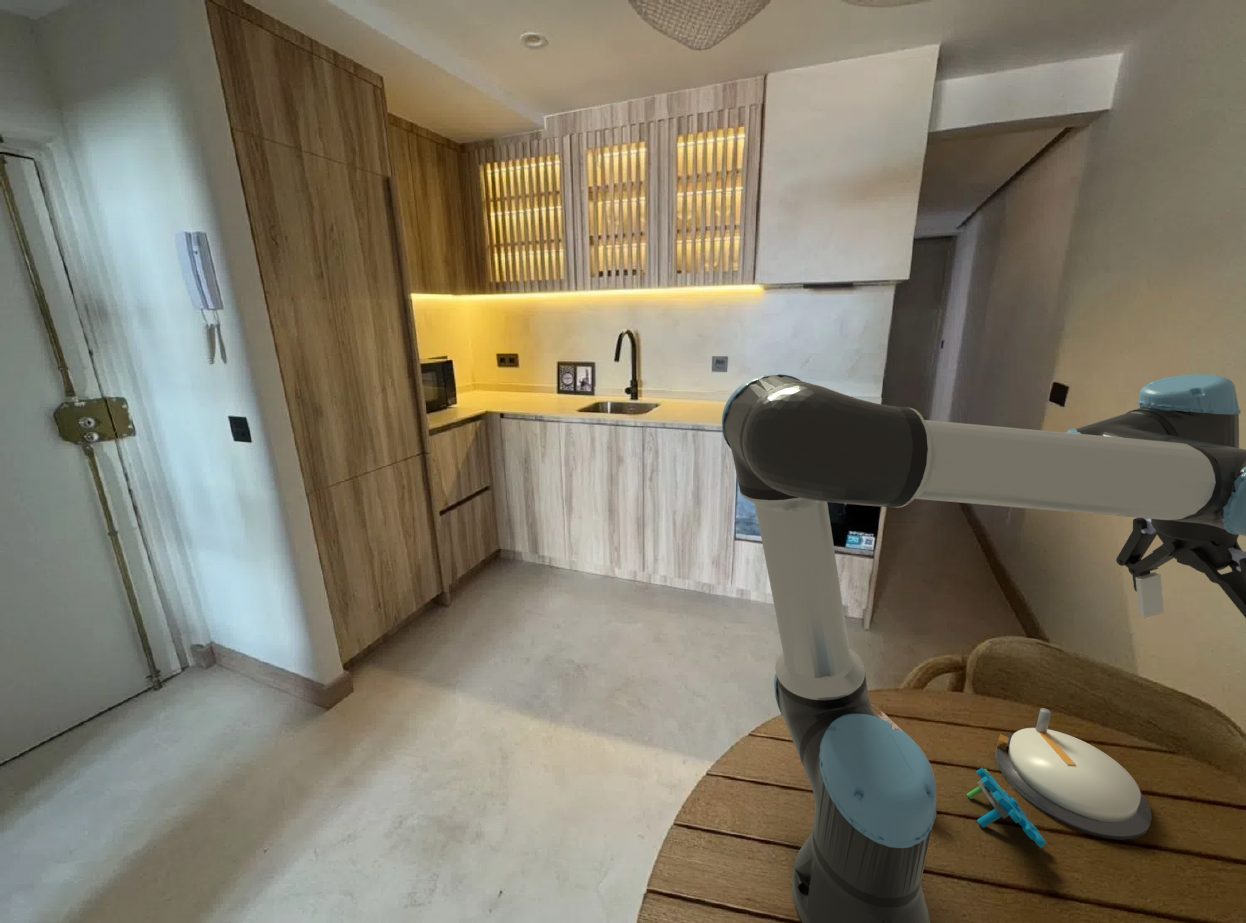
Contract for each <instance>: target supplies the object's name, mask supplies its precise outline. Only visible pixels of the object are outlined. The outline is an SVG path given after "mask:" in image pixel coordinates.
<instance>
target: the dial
mask: <svg viewBox="0 0 1246 923" xmlns="http://www.w3.org/2000/svg"><path fill="white" fill-rule="evenodd" d="M1051 716H1052V712H1051V711H1050V710H1049V709H1047V708H1043V707H1040V709H1039V714H1038V717H1037V718H1038V719H1037V722H1036V726H1035V727H1027V728H1021V729H1019V730H1017V731H1015V732H1014V734H1013V736H1012V738H1011V741H1010V745H1009V751H1008V755H1009V759H1010V762H1011V764H1012V766H1013V767H1014V769H1015V770H1016V772H1017V773H1018V774H1019V775H1020V777H1021V778H1022V779H1023V780H1024V781H1025V782H1026V783H1027V784H1029V785H1030V786H1031V787H1032V788H1033V789H1034V790H1036V791H1037V792H1038V793H1040V794H1041V795H1043V796H1044V797H1045V798H1047V799H1049V800H1050V801H1052V802H1054V803H1055V804H1057V805H1059V806H1061V807H1063V808H1065V809H1067V810H1069V811H1071V812H1073V813H1076V814H1079V815H1081V816H1084V817H1087V818H1091V819H1094V820H1099V821H1105V822H1123V821H1127V820H1129V819H1131V818H1133V816H1134V815H1135V814H1136V812H1137V809H1138V806H1139V803H1140V799H1141V794H1140V792H1141V790H1140V788H1139V785H1138V783H1137V781H1136V780H1135V779H1134V777H1132V775H1131V774H1130V773H1129V771H1127V770H1126V769H1125V768H1124V767H1123V766H1122V765H1121V764H1120V763H1119V762H1118V761H1116V760H1115V759H1114V758H1112V757H1111V756H1109V755H1108V754H1106V753H1105V752H1103V751H1102V750H1100V749H1099V748H1097V747H1095V746H1094V745H1091V744H1089V743H1088V742H1086V741H1084V740H1081V739H1079V738H1076V737H1074V736H1072V735H1069V734H1067V733H1063V732H1060V731H1057V730H1053V729H1049V724H1050V721H1051Z"/></svg>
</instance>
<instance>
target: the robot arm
mask: <svg viewBox="0 0 1246 923" xmlns="http://www.w3.org/2000/svg"><path fill="white" fill-rule="evenodd" d="M1236 391H1237V390H1236V386H1235V383H1234V382H1233V381H1232V380H1231V379H1229V378H1227V377H1225V376H1221V375H1217V374H1216V375H1215V374H1207V373H1206V374H1204V373H1203V374H1198V373H1197V374H1184V375H1177V376H1169V377H1165V378H1161V379H1157V380H1154V381H1151V382H1149V383H1148V384H1146V385H1145V386H1143V387H1142V388H1141V389H1140V391H1139V400H1138V401H1137V403H1138V405H1139V408H1136V409H1132V410H1129V411H1127V412H1125V413H1124V414H1120V415H1117V416H1113V417H1110V418H1107V419H1104V420H1100V421H1097V422H1092V423H1090V424H1086V425H1083V426H1080V427H1077V428H1072V429H1068V430H1067V431H1066V432H1062V431H1050V430H1039V429H1030V428H1029V429H1028V428H1018V427H1009V426H1008V427H1007V426H998V425H997V426H996V425H984V424H974V423H963V422H951V421H941V420H930V419H929V420H928V419H925V418H924V417H923V415H922V414H921V413H920V412H919V411H918V410H916V409H915V408H912V407H907V406H898V405H897V406H896V405H888V404H881V403H877V402H872V401H868V400H864V399H860V398H856V397H853V396H850V395H847V394H844V393H842V392H838V391H835V390H834V389H830V388H827V387H825V386H821V385H818V384H813V383H811V382H806V381H802V380H801V379H799V378H797V377H795V376H793V375H788V374H780V373H777V374H764V375H760V376H756V377H754V378H751V379H749V380H746V381H745V382H743V383H742V384H741V385H740V386H738V387H737V389H735V390H734V391H733V393H731V395H730V396H729V398H728V399H727V401H726V403H725V405H724V408H723V411H722V417H721V428H722V435H723V439H724V440H725V442H726V445H727V446H728V447H729V448H730V450H731V452H732V457H733V458H732V460H733V462H734V463H733V464H734V467H735V468H734V469H735V473H736V478H737V482H738V487H739V492H740V495H741V496H742V497H743V498H744V499H746V500H748V501H750V502H751V503H753V504H754V507H755V511H756V516H757V522H758V527H759V532H760V537H761V544H762V548H763V554H764V560H765V564H766V569H767V570H766V571H767V574H768V575H767V576H768V579H769V585H770V591H771V595H772V596H771V597H772V600H773V605H774V606H773V608H774V611H775V616H776V621H777V627H778V628H777V629H778V632H779V638H780V643H781V650H782V651H781V652H780V654H779V655H778V657H777V659H776V662H775V665H774V667H775V668H774V669H775V670H774V671H775V674H774V678H773V679H774V680H773V681H774V682H773V683H774V684H773V687H774V694H775V695H774V697H775V701H776V704H777V707H778V710H779V712H780V714H781V716H782V717H783V719H784V722H785V725H786V727H787V730H788V732H789V734H790V736H791V740H792V742H793V743H794V747H795V750H796V752H797V754H798V756H799V759H800V762H801V764H802V766H803V769H804V772H805V774H806V777H807V779H808V782H809V784H810V786H811V790H812V792H813V796H814V803H815V807H814V816H813V817H814V818H813V825H812V826H813V827H812V832H811V833H810V834H809V835H808V838H807V839H806V840H805V841H804V843H803V844H802V846H801V848H800V849H799V850H798V853H797V855H796V858H795V860H794V866H793V871H792V881H791V882H792V883H791V884H792V887H791V890H792V897H793V902H794V906H795V909H796V912H797V915H798V917H799V919H800V921H801V923H931V921H930V915H929V910H928V907H927V903H926V899H925V895H924V892H923V887H922V879H923V872H924V869H925V864H926V860H927V859H926V858H927V856H928V855H927V854H928V850H929V844H930V840H931V835H932V831H933V830H932V829H933V825H934V823H935V821H936V817H937V816H936V815H937V782H936V777H935V773H934V769H933V768H932V765H931V763H930V761H929V758H928V757H927V756H926V754H925V753H924V751H923V749H922V748H921V747H920V746H919V745H918V743H916V742H914V741H915V740H914V739H913V738H912V737H911V736H910V735H909V734H908V733H907V732H906V731H905V732H906V733H907V734H908V735H909V736H910V737H911V738H910V737H909V736H908V735H907V734H906V733H905V732H903V731H902V730H903V729H902V730H897V731H896V730H894V729H893V728H892V724H891V723H889V722H887V721H885V720H883V719H881V718H879V717H878V716H877V714H876V713H875V711H874V709H873V707H872V705H871V703H870V702H871V700H870V696H869V690H868V689H869V688H868V682H867V677H866V670H865V666H864V662H863V660H862V659H861V657H860V656H859V655H858V654H857V653H856V652H855V651H853V650H852V649H850V644H849V639H848V638H849V637H848V631H847V625H846V619H845V612H844V605H843V599H842V598H843V597H842V590H841V586H840V580H839V579H840V578H839V572H838V571H839V570H838V566H837V559H836V552H835V546H834V545H835V544H834V538H833V532H832V525H831V519H830V513H829V512H830V511H829V505H828V503H833V504H834V503H835V504H836V503H837V504H847V505H858V506H871V507H883V508H897V509H898V508H903V507H905V506H907V505H909V504H911V503H912V502H913V501H914V500H925V501H927V500H929V501H937V502H938V501H940V502H952V503H962V504H971V505H973V504H974V505H975V504H976V505H985V506H997V507H1008V508H1019V509H1020V508H1021V509H1032V510H1042V511H1043V510H1044V511H1054V512H1055V511H1057V512H1066V513H1067V512H1069V513H1078V514H1093V515H1103V516H1115V517H1126V518H1133V519H1132V531H1131V533H1130V535H1129V536H1128V537H1127V538H1128V539H1127V540H1126V541H1125V543H1124V545H1123V547H1122V548H1121V550H1120V552H1119V553H1118V555H1117V557H1116V560H1115V562H1116V564H1118V565H1119V566H1120V567H1124V566H1125V567H1126V568H1127V569H1128V572H1129V574H1130V575H1132V582H1133V589H1134V591H1135V592H1136V596H1137V605H1138V614H1139V616H1140V617H1142V618H1144V619H1146V618H1149V617H1150V618H1151V617H1153V616H1156V615H1160V614H1165V612H1164V598H1163V588H1162V578H1161V574H1160V573H1159V572H1156V571H1155V570H1158V569H1159V567H1161V566H1163V565H1165V564H1166V563H1168V562H1170V561H1171V560H1172V559H1175V560H1176V562H1177V563H1179V564H1181V565H1184V566H1189V567H1190V568H1192V569H1194V570H1196V571H1198V572H1200V573H1202V574H1204V575H1205V576H1206V577H1207V579H1208V580H1209V581H1210V582H1212V583H1213V584H1217V585H1218V586H1219V587H1220V588H1221V589H1222V591H1223V592H1224V593H1225V595H1226V596H1227V597H1228V598H1229V599H1230V601H1231V602H1232V603H1233V605H1235V607H1236V608H1237V610H1239V611H1240V613H1241V614H1242V615H1243V617H1244V618H1245V619H1246V551H1245V550H1243V549H1242V548H1241V546H1240V545H1239V542H1238V538H1239V537H1240V536H1243V537H1246V449H1245V448H1240V418H1239V417H1240V414H1241V411H1242V410H1241V409H1240V407H1239V402H1238V397H1237V395H1238V394H1237V392H1236ZM1156 537H1158V538H1159V539H1160V540H1161V542H1162V544H1161V545H1160V546H1158V547H1157V548H1155V549H1154V550H1152V552H1151V553H1150V554H1148V555H1146V556H1145V557H1144V555H1145V554H1146V553H1147V551H1148V549H1149V548H1150V546H1151V545H1152V543H1153V542H1154V540H1155V538H1156ZM1228 567H1230V569H1231V571H1229V572H1225V573H1221V572H1219V571H1221V570H1224V569H1226V568H1228ZM1151 571H1153V572H1151ZM912 739H913V740H914V741H913V740H912Z"/></svg>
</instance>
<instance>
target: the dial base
mask: <svg viewBox="0 0 1246 923" xmlns="http://www.w3.org/2000/svg"><path fill="white" fill-rule="evenodd" d="M1014 733H1015V732H1014ZM1014 733H1013V732H1012V733H1009V734H1006V735H1003V734H1001V733H1000V734H999V736H998V739H997V743H996V747H995V748H996V749H995V761H996V764H997V767H998V769H999V772H1001V774H1002V776H1003V777H1004V779H1005V780H1006V781H1007V783H1009V785H1010V786H1011V787H1012V788H1013V789H1014V790H1015V791H1016V793H1018V794H1019V795H1020V796H1021V797H1022V798H1023V799H1024V800H1026V801H1027V802H1029V803H1030V805H1032V806H1034V807H1036V809H1038V810H1039V811H1041V812H1043V813H1044V814H1045V815H1047V816H1049V817H1051V818H1053V819H1054V820H1056V821H1058V822H1060V823H1062V824H1064V825H1065V826H1066V825H1067V826H1068V827H1070V828H1072V829H1075V830H1077V831H1078V832H1079V831H1080V832H1082V833H1086V834H1089V835H1092V836H1095V837H1099V838H1103V839H1108V840H1116V841H1129V840H1135V839H1138V838H1140V837H1142V836H1144V835H1145V834H1147V831H1148V830H1149V828H1150V826H1151V823H1152V822H1151V821H1152V817H1153V816H1152V810H1151V807H1150V804H1149V802H1148V801H1147V799H1146V796H1144V794H1143V793H1142V792H1141V791H1140V794H1141V799H1140V803H1139V806H1138V809H1137V812H1136V814H1135V815H1134V816H1133V818H1131V819H1129V820H1127V821H1123V822H1105V821H1099V820H1094V819H1091V818H1087V817H1084V816H1081V815H1079V814H1076V813H1073V812H1071V811H1069V810H1067V809H1065V808H1063V807H1061V806H1059V805H1057V804H1055V803H1054V802H1052V801H1050V800H1049V799H1047V798H1045V797H1044V796H1043V795H1041V794H1040V793H1038V792H1037V791H1036V790H1034V789H1033V788H1032V787H1031V786H1030V785H1029V784H1027V783H1026V782H1025V781H1024V780H1023V779H1022V778H1021V777H1020V775H1019V774H1018V773H1017V772H1016V770H1015V769H1014V767H1013V766H1012V764H1011V762H1010V759H1009V755H1008V751H1009V745H1010V741H1011V738H1012V736H1013V734H1014Z"/></svg>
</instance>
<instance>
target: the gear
mask: <svg viewBox="0 0 1246 923" xmlns="http://www.w3.org/2000/svg"><path fill="white" fill-rule="evenodd" d="M976 774H977V775H978V776H979V777H980V780H979V781H977V782H976V783H977V784H978V786H976V788H975V787H974V789H972V790H970V791H969V792H968V793H966V795H967V797H968V798H969V799H970V800H972V799H974V798H975V797H977V796H978V795H980V794H982V793H984V795H985V796H986V798H987V799H988V800H989V802H990V804H991V805H992V806H993V808H994V809H992V810H990V811H989V812H987V813H986V814H984V815H983V816H981V817H980V818H978V819H977V822H978V824H979V826H981V827H982V828H983V829H984V828H986V827H987V826H989V825H990V824H992V823H994V822H995V821H997V820H999V819H1000V818H1002V819H1006V818H1007V817H1009V816H1010V818H1011V819H1012V820H1013V822H1015V823H1016V824H1017V823H1018V824H1019V825H1020V826H1021V828H1022V830H1023V833H1025V834H1026V835H1027V837H1028V838H1029V839H1030V840H1032V841H1034V842H1035V844H1036V845H1037V846H1038V847H1039V848H1040V849H1042V848H1044V847H1045V846H1047V844H1046V843H1047V842H1046V839H1045V838H1044V837H1043V836H1042V835H1041V834H1040V830H1039V829H1038V828H1037V827H1036V826H1035V825H1034V824H1033V823H1032V821H1030V820H1029V819H1028V818H1027V817H1028V816H1027V815H1026V813H1025V812H1024V811H1023V810H1022V808H1021V807H1019V806H1020V803H1019V802H1018V801H1017V800H1016V799H1015V798H1014V797H1011V796H1010V794H1008V792H1007V791H1006V790H1005V789H1003V788H1002V787H1001V786H1000V785H999V783H998V782H997V781H996V779H994V777H993V775H991V774H990V772H989V771H988V770H987V768H983V767H981V768H980V769H978V770H976Z"/></svg>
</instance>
